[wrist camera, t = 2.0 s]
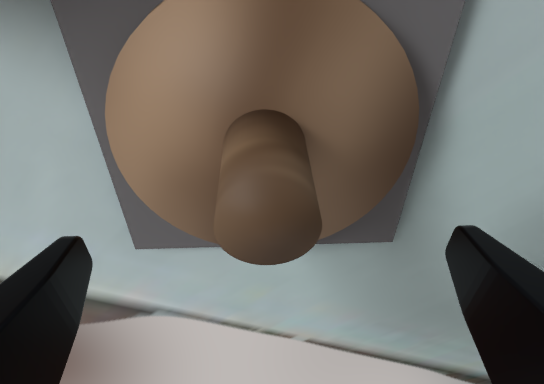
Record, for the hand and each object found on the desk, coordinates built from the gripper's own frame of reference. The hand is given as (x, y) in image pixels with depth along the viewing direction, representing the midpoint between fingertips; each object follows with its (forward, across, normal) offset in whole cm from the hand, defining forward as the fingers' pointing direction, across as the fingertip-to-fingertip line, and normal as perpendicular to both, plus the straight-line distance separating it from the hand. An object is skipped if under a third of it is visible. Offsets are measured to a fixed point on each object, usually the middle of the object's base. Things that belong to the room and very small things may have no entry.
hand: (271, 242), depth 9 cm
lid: (+6, 0, 0) cm, 6 cm away
